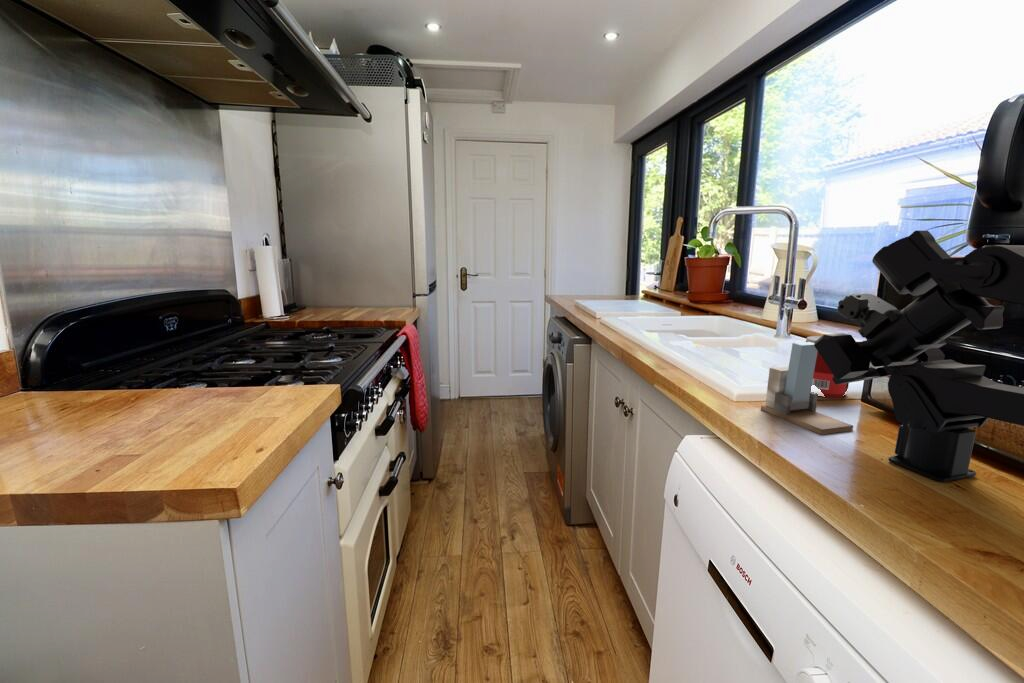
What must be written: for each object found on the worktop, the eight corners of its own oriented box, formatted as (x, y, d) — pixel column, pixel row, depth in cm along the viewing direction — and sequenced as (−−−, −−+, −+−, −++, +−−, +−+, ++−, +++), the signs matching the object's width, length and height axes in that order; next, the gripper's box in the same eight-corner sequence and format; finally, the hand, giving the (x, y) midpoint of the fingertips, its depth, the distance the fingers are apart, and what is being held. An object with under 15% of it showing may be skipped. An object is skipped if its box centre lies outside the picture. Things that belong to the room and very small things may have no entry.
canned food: (856, 398, 90) (864, 343, 88) (814, 398, 90) (821, 342, 88) (830, 387, 98) (837, 335, 96) (791, 387, 98) (798, 335, 96)
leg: (808, 408, 80) (819, 344, 78) (789, 410, 79) (800, 345, 76) (799, 404, 82) (810, 341, 79) (781, 406, 81) (791, 342, 78)
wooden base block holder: (852, 430, 74) (859, 382, 73) (821, 434, 72) (828, 386, 71) (789, 406, 85) (794, 365, 84) (760, 409, 84) (765, 367, 82)
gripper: (934, 275, 67) (850, 337, 80) (835, 276, 62) (762, 342, 75) (992, 337, 62) (891, 394, 74) (887, 345, 56) (798, 404, 69)
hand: (835, 381), depth 73 cm, fingers closed
